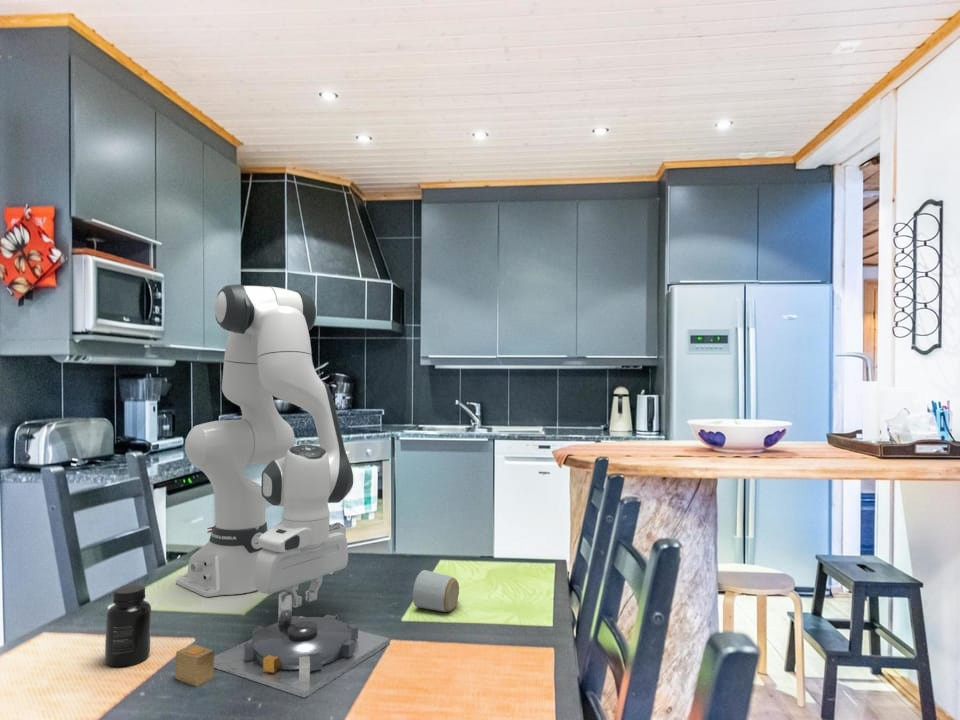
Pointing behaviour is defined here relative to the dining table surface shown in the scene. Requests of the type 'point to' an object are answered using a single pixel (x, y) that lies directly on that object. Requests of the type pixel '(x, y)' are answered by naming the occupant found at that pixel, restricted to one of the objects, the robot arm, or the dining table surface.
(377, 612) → the dining table surface
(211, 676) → the tan block
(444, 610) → the ceramic mug
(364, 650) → the base plate
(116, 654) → the supplement bottle
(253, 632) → the sprocket
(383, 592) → the dining table surface
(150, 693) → the dining table surface
